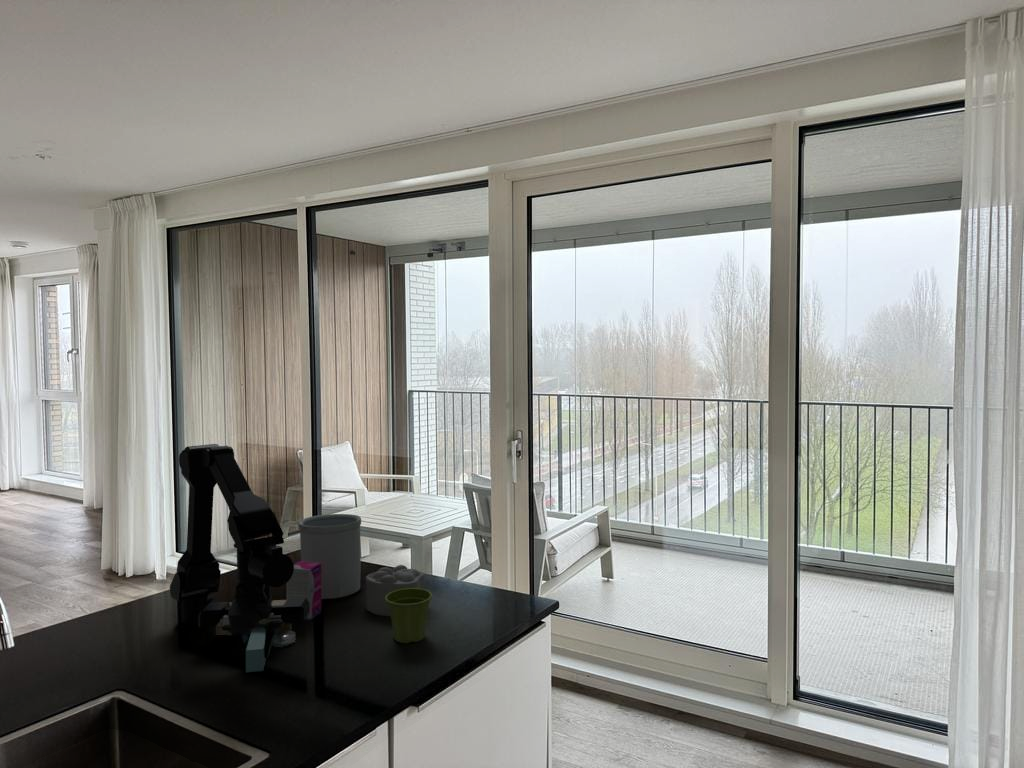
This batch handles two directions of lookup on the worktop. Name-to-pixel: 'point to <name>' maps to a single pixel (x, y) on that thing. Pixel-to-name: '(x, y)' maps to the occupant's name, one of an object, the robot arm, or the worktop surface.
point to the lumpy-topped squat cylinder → (389, 586)
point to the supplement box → (306, 586)
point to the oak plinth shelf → (264, 621)
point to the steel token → (284, 638)
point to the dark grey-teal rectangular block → (256, 650)
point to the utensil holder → (333, 551)
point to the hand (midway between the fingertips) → (256, 658)
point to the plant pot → (408, 613)
